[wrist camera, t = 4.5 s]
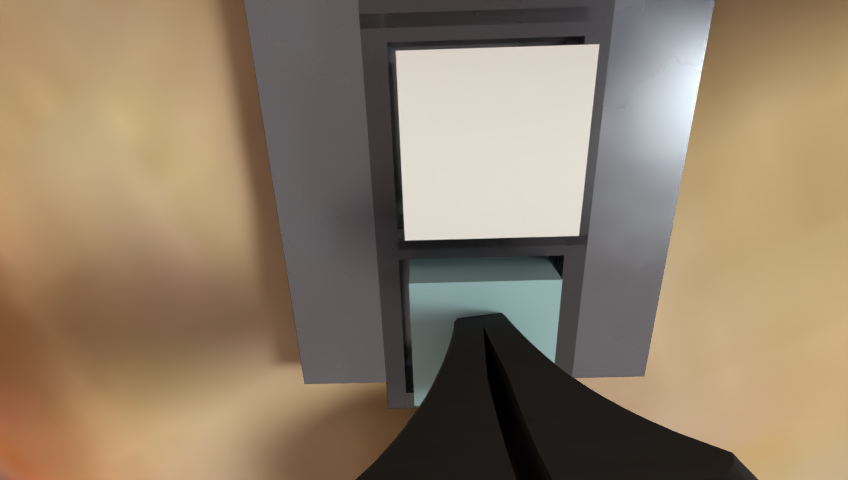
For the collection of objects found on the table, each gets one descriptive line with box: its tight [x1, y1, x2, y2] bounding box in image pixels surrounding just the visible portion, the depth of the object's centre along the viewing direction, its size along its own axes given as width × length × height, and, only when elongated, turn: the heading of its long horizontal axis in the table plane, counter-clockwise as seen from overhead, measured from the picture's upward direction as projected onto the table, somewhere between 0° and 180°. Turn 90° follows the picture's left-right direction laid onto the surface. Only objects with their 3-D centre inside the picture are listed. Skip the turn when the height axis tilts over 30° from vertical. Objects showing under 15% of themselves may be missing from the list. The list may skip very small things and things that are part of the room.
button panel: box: [244, 0, 715, 409], centre depth 12 cm, size 12×17×3 cm
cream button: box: [396, 44, 599, 241], centre depth 10 cm, size 4×4×2 cm
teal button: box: [409, 256, 562, 406], centre depth 13 cm, size 4×4×2 cm
